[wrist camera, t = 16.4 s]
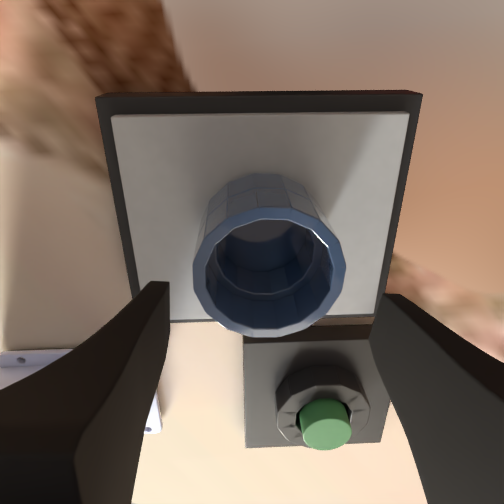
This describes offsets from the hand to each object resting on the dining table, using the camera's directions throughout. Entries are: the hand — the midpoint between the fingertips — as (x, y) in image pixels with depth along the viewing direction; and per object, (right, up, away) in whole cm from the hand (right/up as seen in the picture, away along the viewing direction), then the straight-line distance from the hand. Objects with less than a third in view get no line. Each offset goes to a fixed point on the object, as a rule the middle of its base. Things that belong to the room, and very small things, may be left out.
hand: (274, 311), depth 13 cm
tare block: (+4, -7, +14) cm, 16 cm away
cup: (0, +3, +5) cm, 6 cm away
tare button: (+4, -8, +12) cm, 15 cm away
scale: (0, +4, +8) cm, 9 cm away
